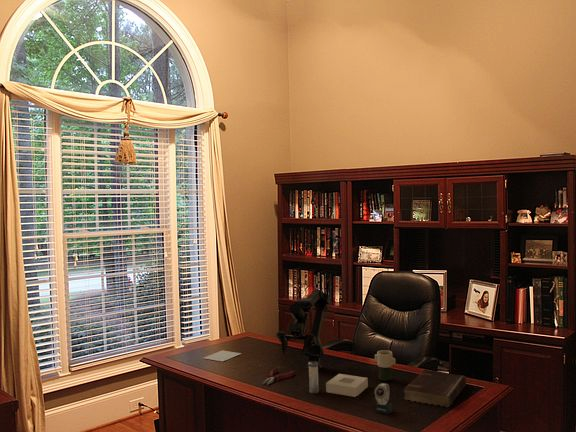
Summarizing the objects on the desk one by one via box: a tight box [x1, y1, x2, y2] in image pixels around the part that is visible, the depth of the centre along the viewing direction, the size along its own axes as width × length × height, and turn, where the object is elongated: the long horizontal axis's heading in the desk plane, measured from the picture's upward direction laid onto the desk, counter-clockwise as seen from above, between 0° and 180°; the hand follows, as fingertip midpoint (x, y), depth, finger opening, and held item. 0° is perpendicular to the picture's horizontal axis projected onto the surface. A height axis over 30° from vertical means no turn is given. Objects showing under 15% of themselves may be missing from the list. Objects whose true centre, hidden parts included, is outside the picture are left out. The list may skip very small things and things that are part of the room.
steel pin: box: [307, 361, 319, 394], centre depth 236 cm, size 5×5×13 cm
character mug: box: [374, 349, 396, 382], centre depth 249 cm, size 11×7×13 cm, turn 48°
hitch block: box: [325, 373, 369, 398], centre depth 238 cm, size 14×14×4 cm
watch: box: [374, 382, 393, 415], centre depth 212 cm, size 6×8×11 cm
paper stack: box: [203, 349, 242, 362], centre depth 289 cm, size 23×25×1 cm
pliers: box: [261, 367, 295, 386], centre depth 255 cm, size 12×20×3 cm, turn 152°
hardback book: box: [403, 369, 467, 408], centre depth 232 cm, size 29×19×5 cm, turn 149°
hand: (292, 355), depth 245 cm, fingers open, 9 cm apart
